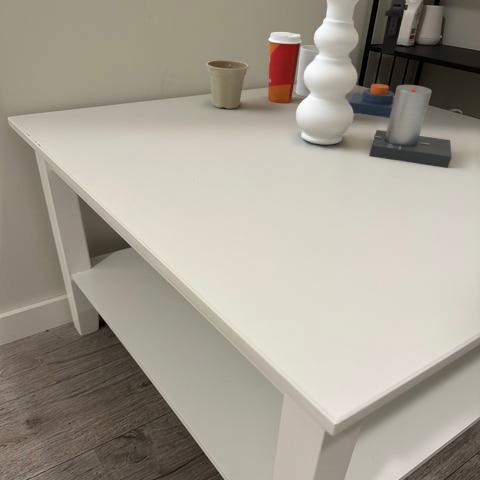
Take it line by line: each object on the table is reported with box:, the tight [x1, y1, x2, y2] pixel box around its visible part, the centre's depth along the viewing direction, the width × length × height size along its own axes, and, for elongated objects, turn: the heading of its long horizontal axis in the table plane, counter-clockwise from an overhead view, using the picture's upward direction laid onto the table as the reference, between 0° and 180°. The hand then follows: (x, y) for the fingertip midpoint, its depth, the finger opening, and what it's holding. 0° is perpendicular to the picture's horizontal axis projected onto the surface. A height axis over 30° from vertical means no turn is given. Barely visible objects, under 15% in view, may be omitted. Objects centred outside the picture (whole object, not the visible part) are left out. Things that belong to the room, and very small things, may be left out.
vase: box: [295, 0, 360, 146], centre depth 87 cm, size 11×11×25 cm
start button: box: [370, 83, 390, 95], centre depth 111 cm, size 4×4×2 cm
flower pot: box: [205, 59, 250, 110], centre depth 108 cm, size 9×9×9 cm
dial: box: [385, 84, 433, 146], centre depth 87 cm, size 6×6×9 cm
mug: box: [295, 44, 319, 98], centre depth 120 cm, size 12×8×10 cm, turn 86°
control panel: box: [369, 129, 453, 168], centre depth 90 cm, size 14×10×2 cm
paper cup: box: [267, 31, 303, 104], centre depth 113 cm, size 8×8×14 cm
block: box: [348, 88, 395, 119], centre depth 113 cm, size 12×10×4 cm
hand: (388, 48), depth 104 cm, fingers open, 13 cm apart
